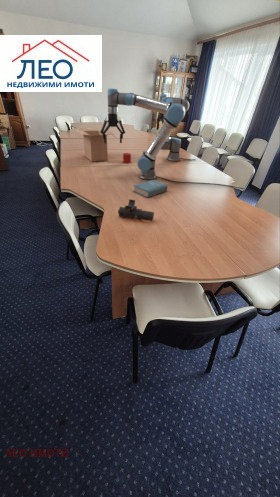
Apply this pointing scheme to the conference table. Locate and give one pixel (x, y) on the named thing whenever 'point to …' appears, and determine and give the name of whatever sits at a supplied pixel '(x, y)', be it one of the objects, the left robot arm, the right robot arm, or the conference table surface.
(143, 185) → the book
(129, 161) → the canister
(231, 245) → the conference table surface
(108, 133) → the box
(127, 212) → the laser sight
